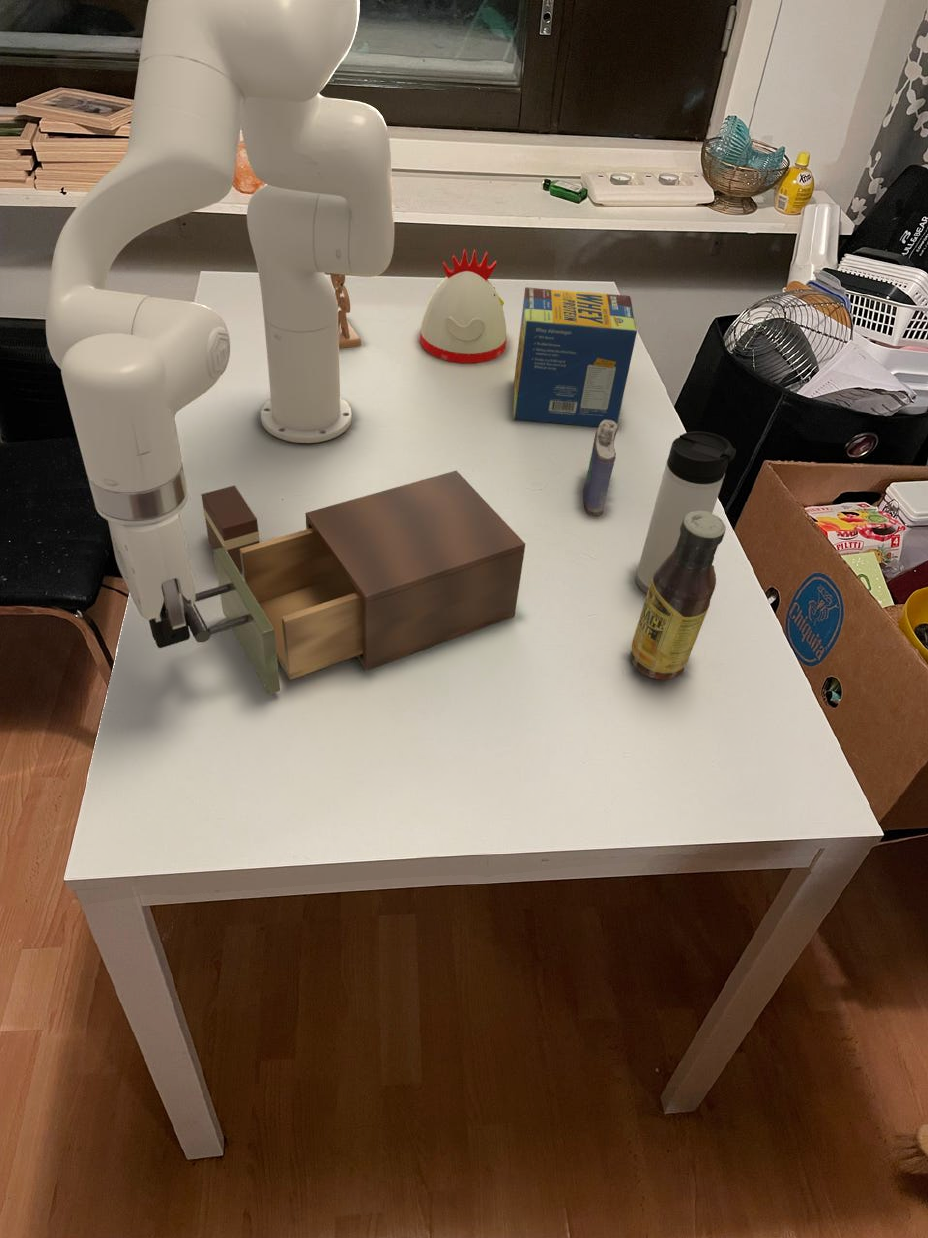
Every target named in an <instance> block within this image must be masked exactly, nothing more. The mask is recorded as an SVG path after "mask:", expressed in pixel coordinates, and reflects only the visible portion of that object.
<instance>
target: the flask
mask: <svg viewBox="0 0 928 1238" xmlns="http://www.w3.org/2000/svg"><path fill="white" fill-rule="evenodd" d="M618 428H619V424H618V423H615V422H614V421H612V420H603V421H602V422H601V423H600V424H599V427H597V429H596V431H595V434H594V440H593V443H592V450H591V454H590V460H589V464H588V469H587V473H586V478H585V483H584V484H583V488H582V495H583V506H584V509H585V512H586V513H587V514H589V515H590V516H601V514H602V513H603V512H604V511H605V504H606V500H607V496H608V490H609V486H610V482H611V478H612V473H613V469H614V465H615V461H616V458H617V457H616V455H617V452H616V449H615V440H616V435H617V432H618V430H619V429H618Z"/></svg>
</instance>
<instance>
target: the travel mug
mask: <svg viewBox="0 0 928 1238" xmlns="http://www.w3.org/2000/svg"><path fill="white" fill-rule="evenodd" d="M736 452H737V448H735V447H733V446H732V444H731V442H730V440H728V439H727V438H726V437H723V436H721V435H720V434H716V433H713V432H708V431H689V432H684V433H683V434H680V435H679V437H676V438H675V439H674V440H673V441H672V442H671V447H670V450H669V453H668V458H667V459H666V463H665V466H664V470H663V474H662V478H661V481H660V485H659V489H658V493H657V496H656V499H655V504H654V507H653V511H652V514H651V519H650V522H649V526H648V529H647V534H646V537H645V541H644V544H643V547H642V548H643V549H642V551H641V555H640V560H639V563H638V566H637V571H636V574H635V581H636V584H637V587H638V588H639V589H640V590H641V591H642V592H643V593H645V594H646V595H647V593H648V590H649V586H650V584H651V580H652V577H653V575H654V573H655V572H656V570H657V569H658V568H659V567H660V566H661V565H662V563H663V562H664V561H665V560H666V559H667V558H668V556H669V555H670V554H671V553H672V552H673V551H674V548H675V547H676V545H677V542H678V539H679V536H680V526H681V524H682V521H683V519H684V517H685V516H686V515H687V514H689V513H690V512H693V511H706V512H710V513H712V514H714V510H715V507H716V504H717V501H718V498H719V494H720V491H721V488H722V485H723V482H724V479H725V476H726V470H727V468H728V465H729V462H732V460H733V459H734V458H735V456H736Z"/></svg>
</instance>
